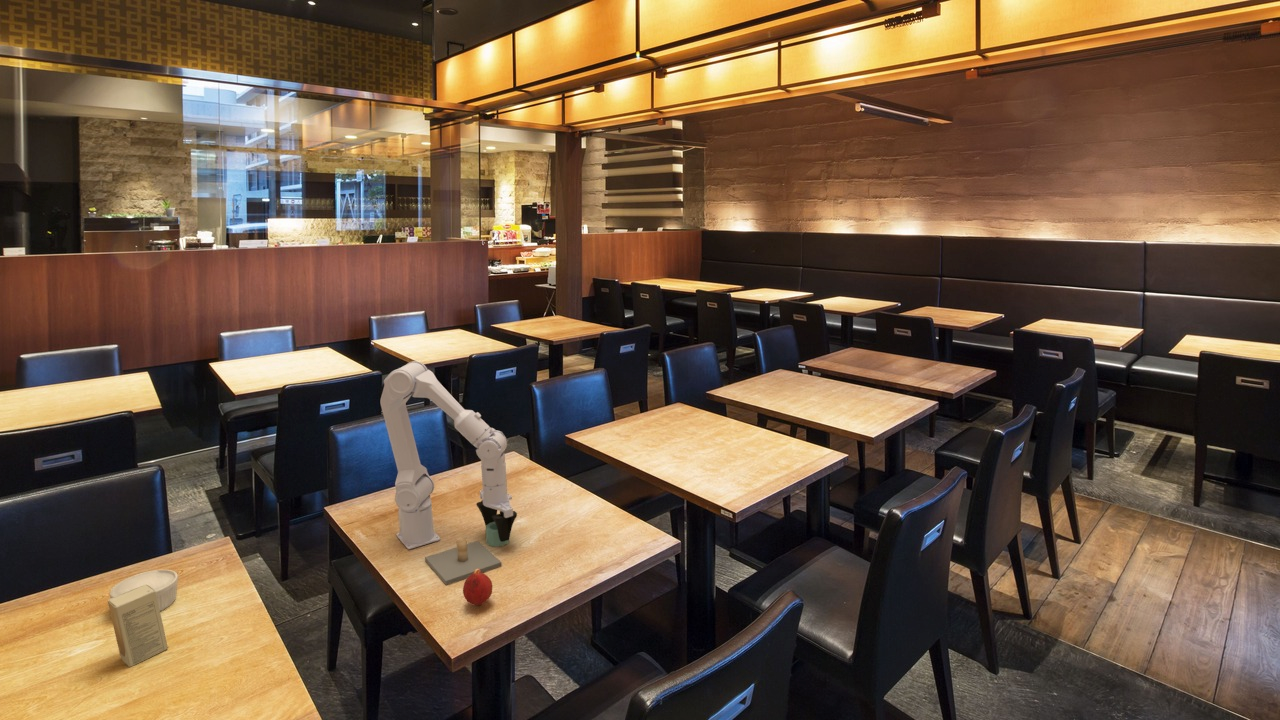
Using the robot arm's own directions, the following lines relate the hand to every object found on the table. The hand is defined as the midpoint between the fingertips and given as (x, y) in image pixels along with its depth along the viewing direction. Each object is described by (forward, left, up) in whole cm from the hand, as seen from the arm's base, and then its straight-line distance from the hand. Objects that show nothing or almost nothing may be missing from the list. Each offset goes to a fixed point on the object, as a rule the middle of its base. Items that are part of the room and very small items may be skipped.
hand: (497, 534), depth 161 cm
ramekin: (-19, -69, -2) cm, 72 cm away
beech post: (+5, -11, -2) cm, 12 cm away
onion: (+23, -15, -2) cm, 28 cm away
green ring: (0, 0, -2) cm, 2 cm away
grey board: (+5, -11, -2) cm, 12 cm away
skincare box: (0, -70, -2) cm, 70 cm away
